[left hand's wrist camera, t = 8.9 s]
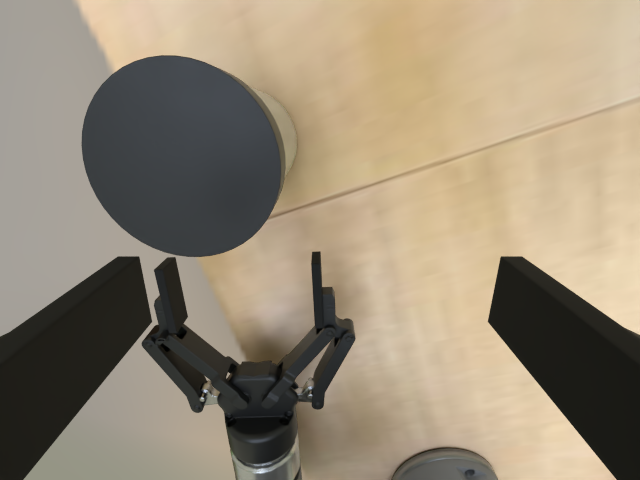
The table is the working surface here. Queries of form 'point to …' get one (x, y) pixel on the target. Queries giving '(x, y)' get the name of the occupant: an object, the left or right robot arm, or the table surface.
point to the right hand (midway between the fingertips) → (240, 259)
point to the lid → (183, 155)
